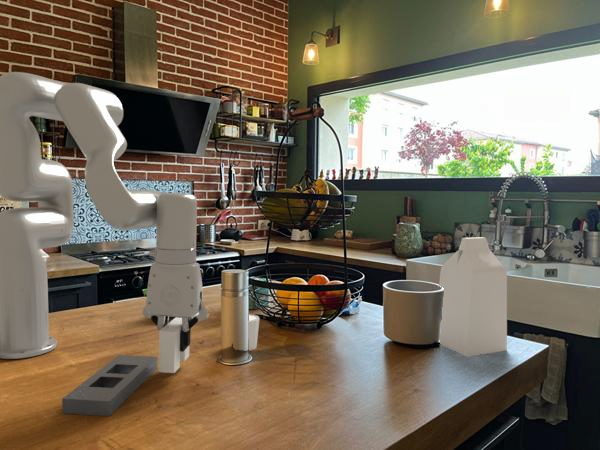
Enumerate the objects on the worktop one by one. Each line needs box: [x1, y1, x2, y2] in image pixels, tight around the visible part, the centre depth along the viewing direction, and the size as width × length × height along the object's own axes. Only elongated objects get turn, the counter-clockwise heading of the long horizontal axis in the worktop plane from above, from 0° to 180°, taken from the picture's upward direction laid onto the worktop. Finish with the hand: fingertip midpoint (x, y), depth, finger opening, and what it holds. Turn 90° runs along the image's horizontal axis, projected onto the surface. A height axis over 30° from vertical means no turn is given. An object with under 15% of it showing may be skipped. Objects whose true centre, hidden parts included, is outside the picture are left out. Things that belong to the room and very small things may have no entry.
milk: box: [438, 236, 508, 358], centre depth 113 cm, size 12×12×26 cm
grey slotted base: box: [61, 354, 158, 417], centre depth 87 cm, size 8×20×2 cm, turn 175°
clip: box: [158, 317, 190, 374], centre depth 94 cm, size 3×9×8 cm, turn 175°
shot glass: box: [248, 313, 260, 352], centre depth 110 cm, size 7×7×7 cm
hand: (175, 347), depth 94 cm, fingers closed on clip, 3 cm apart
